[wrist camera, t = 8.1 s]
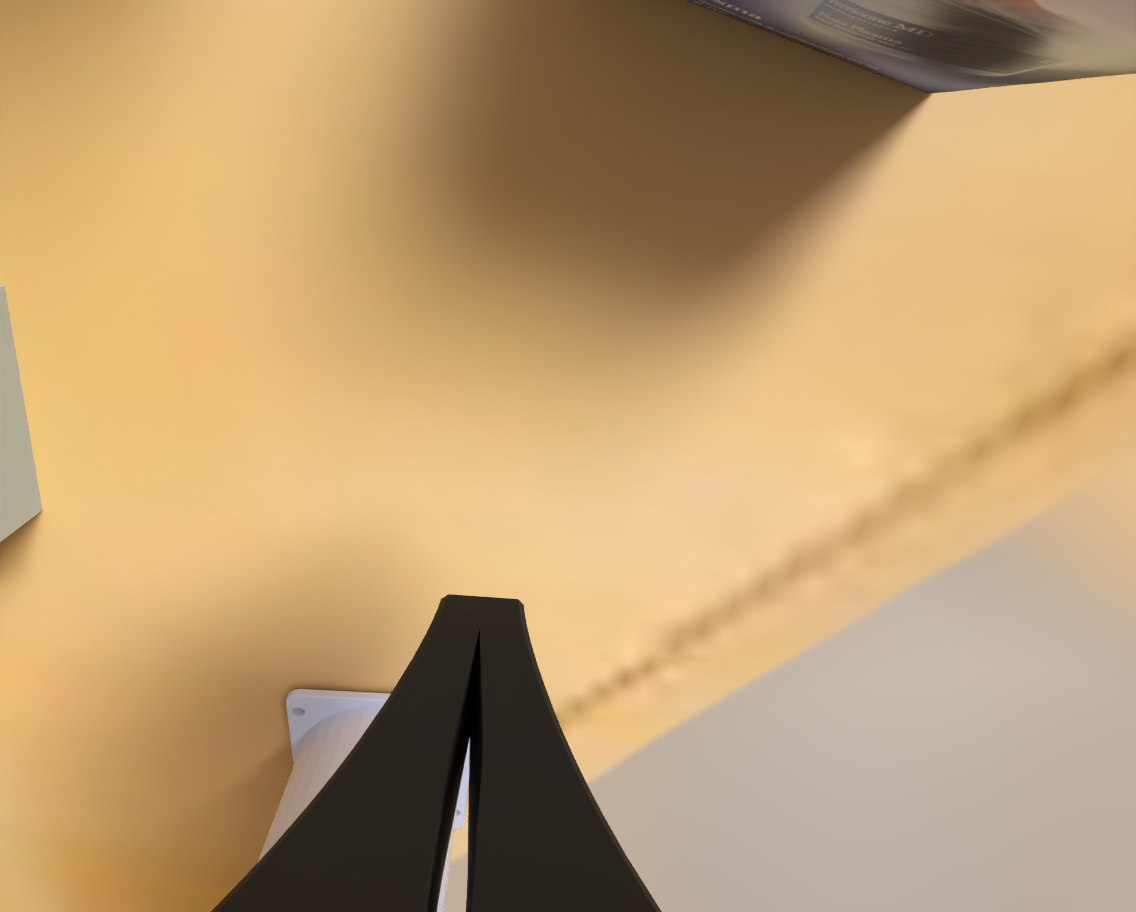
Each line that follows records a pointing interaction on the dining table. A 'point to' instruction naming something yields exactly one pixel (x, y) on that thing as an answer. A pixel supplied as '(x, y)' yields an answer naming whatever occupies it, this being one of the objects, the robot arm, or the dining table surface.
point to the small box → (956, 37)
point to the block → (14, 438)
